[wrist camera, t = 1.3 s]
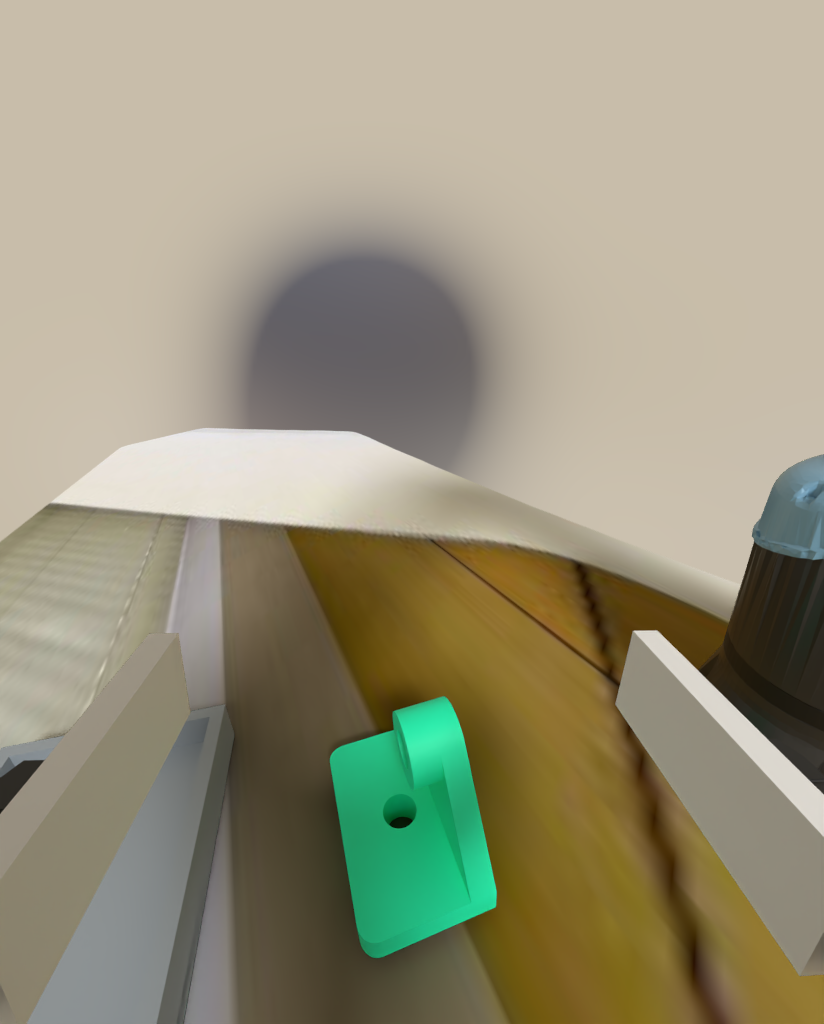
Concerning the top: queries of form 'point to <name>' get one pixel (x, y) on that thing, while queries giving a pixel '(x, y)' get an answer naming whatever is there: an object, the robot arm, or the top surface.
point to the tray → (145, 890)
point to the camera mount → (412, 829)
